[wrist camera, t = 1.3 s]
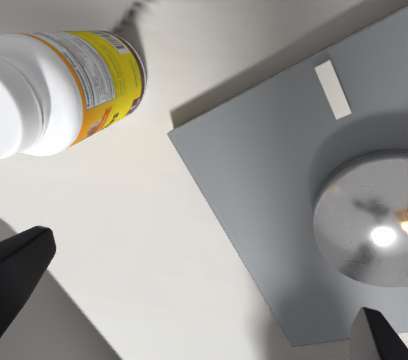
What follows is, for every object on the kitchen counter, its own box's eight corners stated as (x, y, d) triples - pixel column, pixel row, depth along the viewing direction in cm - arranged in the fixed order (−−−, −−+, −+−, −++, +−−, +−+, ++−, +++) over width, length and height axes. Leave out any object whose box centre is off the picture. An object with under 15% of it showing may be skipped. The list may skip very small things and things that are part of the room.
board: (622, 286, 18) (648, 308, 17) (293, 334, 27) (292, 351, 26) (555, -74, 13) (585, -86, 12) (173, 128, 22) (164, 135, 20)
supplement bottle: (92, 121, 23) (-37, 181, 14) (64, 41, 21) (-108, 53, 12) (160, 110, 21) (60, 171, 13) (136, 20, 19) (-4, 18, 10)
